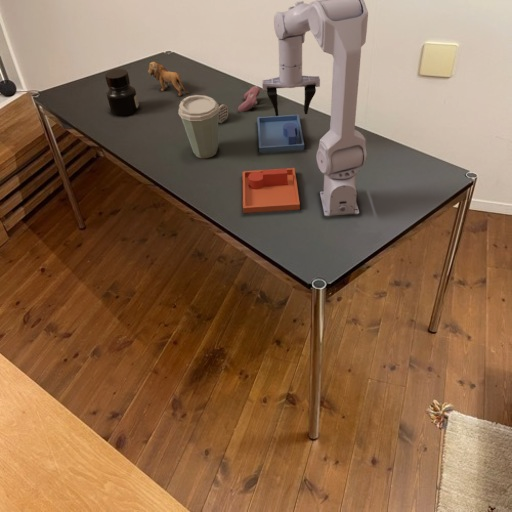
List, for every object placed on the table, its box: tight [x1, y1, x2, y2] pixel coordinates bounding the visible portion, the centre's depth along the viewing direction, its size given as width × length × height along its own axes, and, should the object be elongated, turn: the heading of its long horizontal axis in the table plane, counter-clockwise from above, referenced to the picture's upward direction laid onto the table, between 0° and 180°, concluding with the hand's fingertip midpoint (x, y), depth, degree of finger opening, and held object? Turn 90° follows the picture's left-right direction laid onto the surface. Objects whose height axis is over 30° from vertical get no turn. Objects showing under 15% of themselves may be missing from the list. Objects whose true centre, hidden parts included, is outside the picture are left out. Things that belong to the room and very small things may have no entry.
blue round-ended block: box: [283, 123, 297, 145], centre depth 141 cm, size 10×4×4 cm, turn 1°
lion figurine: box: [146, 61, 190, 97], centre depth 168 cm, size 15×5×9 cm, turn 62°
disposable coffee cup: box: [177, 94, 219, 159], centre depth 135 cm, size 11×11×15 cm
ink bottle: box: [104, 68, 140, 117], centre depth 158 cm, size 10×9×12 cm
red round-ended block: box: [248, 168, 288, 189], centre depth 125 cm, size 10×4×4 cm, turn 92°
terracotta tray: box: [242, 167, 301, 214], centre depth 124 cm, size 15×13×2 cm
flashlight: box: [178, 95, 229, 124], centre depth 154 cm, size 15×5×5 cm, turn 57°
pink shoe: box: [237, 85, 262, 112], centre depth 157 cm, size 10×5×7 cm, turn 168°
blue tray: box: [256, 113, 305, 154], centre depth 143 cm, size 17×12×2 cm
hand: (291, 113), depth 134 cm, fingers open, 7 cm apart
